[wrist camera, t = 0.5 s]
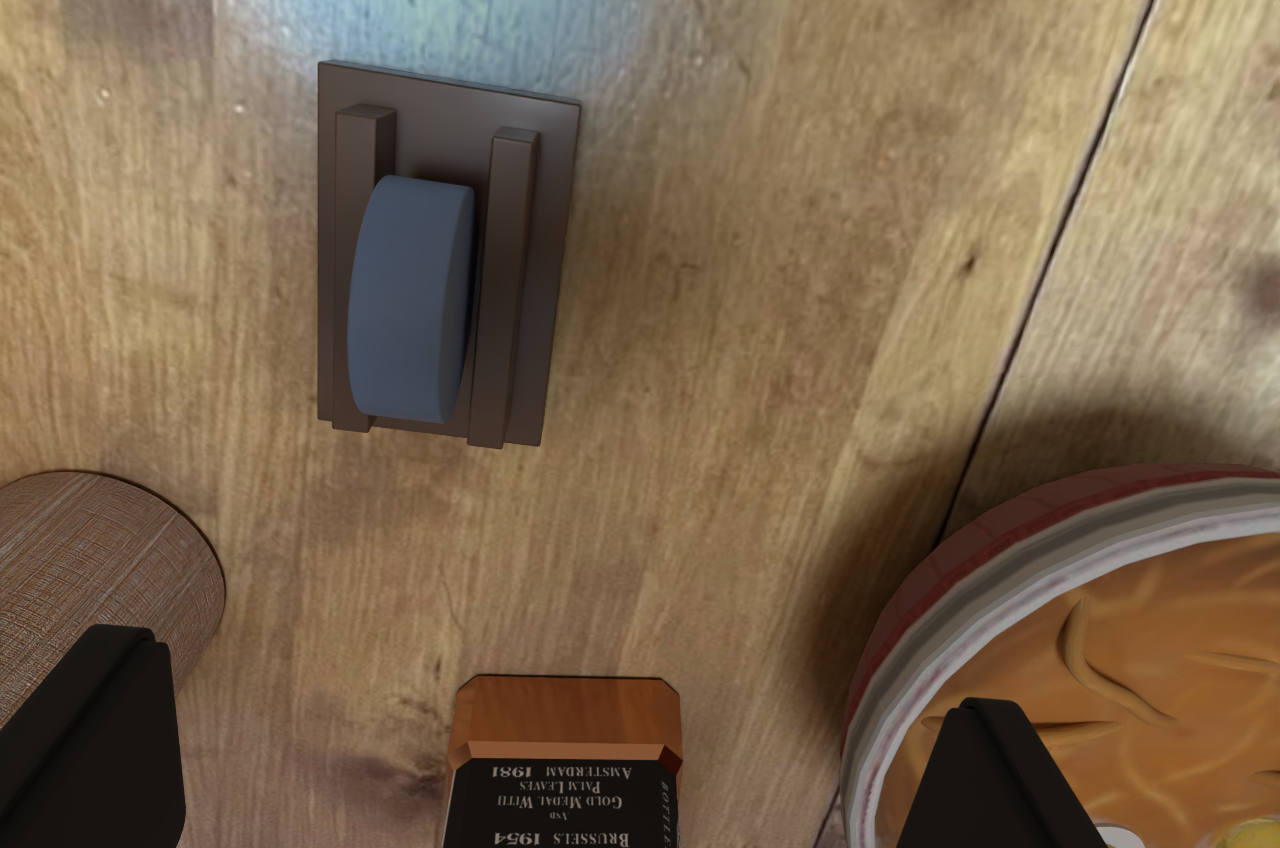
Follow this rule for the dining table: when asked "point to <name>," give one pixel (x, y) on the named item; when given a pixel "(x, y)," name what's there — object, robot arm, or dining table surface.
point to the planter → (97, 575)
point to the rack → (507, 230)
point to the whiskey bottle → (564, 764)
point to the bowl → (1094, 654)
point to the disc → (412, 298)
